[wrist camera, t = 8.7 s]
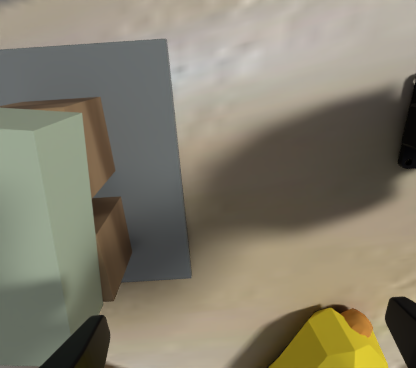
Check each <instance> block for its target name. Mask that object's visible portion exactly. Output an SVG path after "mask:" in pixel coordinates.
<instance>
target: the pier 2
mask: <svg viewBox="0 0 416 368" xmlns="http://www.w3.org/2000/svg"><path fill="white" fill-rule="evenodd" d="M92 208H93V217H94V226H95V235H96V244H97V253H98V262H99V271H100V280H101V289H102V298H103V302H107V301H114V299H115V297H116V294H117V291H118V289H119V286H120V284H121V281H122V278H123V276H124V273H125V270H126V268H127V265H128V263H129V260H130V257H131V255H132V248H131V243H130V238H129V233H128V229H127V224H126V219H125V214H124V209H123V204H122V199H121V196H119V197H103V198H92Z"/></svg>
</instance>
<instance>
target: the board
mask: <svg viewBox="0 0 416 368" xmlns="http://www.w3.org/2000/svg"><path fill="white" fill-rule="evenodd" d="M89 97H101V102H102V107H103V112H104V117H105V122H106V126H107V131H108V136H109V141H110V146H111V151H112V156H113V160H114V165H115V170H116V171H115V172H114V173H113V174H112V176H111V177H110V178H109V179H108V180H107V182H106V183H105V184H104V185H103V186H102V188H101V189H100V190H99V191H98V192H97V193H96V195H95V196H94V197H93V198H103V197H119V196H121V199H122V204H123V209H124V214H125V219H126V224H127V229H128V233H129V238H130V243H131V248H132V255H131V257H130V260H129V263H128V265H127V268H126V270H125V273H124V276H123V278H122V281H121V282H137V281H153V280H170V279H186V278H191V275H192V272H191V263H190V254H189V244H188V235H187V225H186V216H185V207H184V197H183V188H182V178H181V169H180V159H179V150H178V141H177V131H176V122H175V112H174V103H173V94H172V84H171V75H170V65H169V56H168V47H167V39H153V40H138V41H123V42H108V43H93V44H78V45H63V46H48V47H33V48H18V49H3V50H0V106H3V105H8V104H13V103H19V102H28V101H43V100H58V99H74V98H89Z"/></svg>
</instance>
